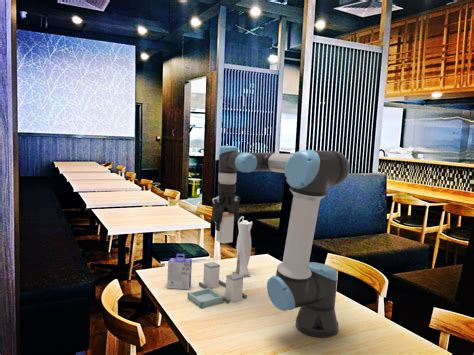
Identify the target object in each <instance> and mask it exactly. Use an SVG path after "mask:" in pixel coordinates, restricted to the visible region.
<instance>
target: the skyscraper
mask: <svg viewBox="0 0 474 355" xmlns="http://www.w3.org/2000/svg"><path fill="white" fill-rule="evenodd" d="M244 218H245V217H244V216H243V215H242V216H240V217H239V219H238V220H237V226H238V227H237V228H238V235H237V239H236V268H235V271H232V272H231V274H235V273H237V274H239V275H241V276H243V278H250V277H251V275H250V272H249V268H248V266H249V262H250V259H251V253H252V236H251V229H252V226H253V221H250V222H249V221H248V220H244ZM241 219H242V221H241Z"/></svg>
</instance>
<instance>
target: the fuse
mask: <svg viewBox="0 0 474 355" xmlns="http://www.w3.org/2000/svg"><path fill="white" fill-rule="evenodd" d="M221 223H222V239H219V238H217V233H215V234H216V236H215V238H216V242H217V243H221V244H229V243H230V244H231V243H233V240H234V229H233V224H234V225H235V223H234V214H231V213H229V212H228V211H224V212H223V215H222V220H221Z"/></svg>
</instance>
